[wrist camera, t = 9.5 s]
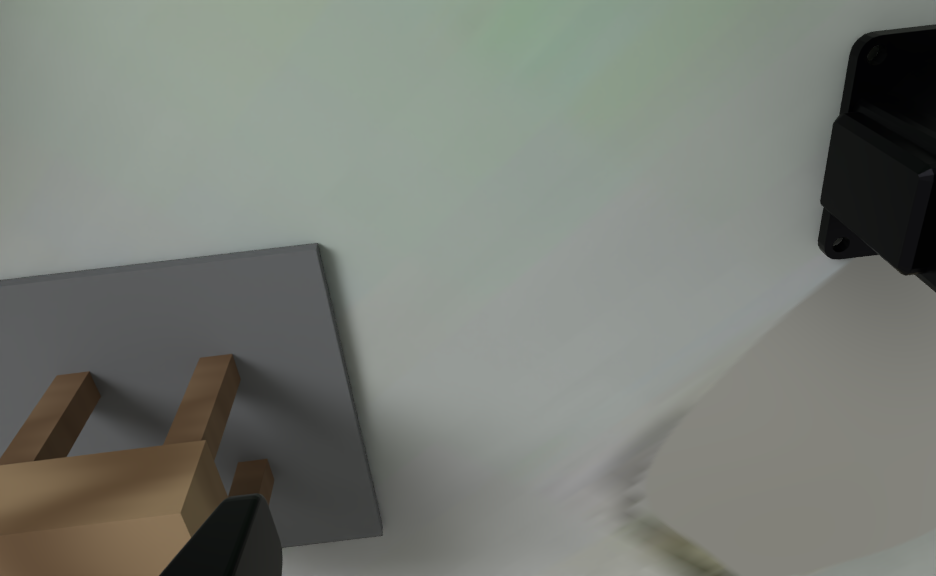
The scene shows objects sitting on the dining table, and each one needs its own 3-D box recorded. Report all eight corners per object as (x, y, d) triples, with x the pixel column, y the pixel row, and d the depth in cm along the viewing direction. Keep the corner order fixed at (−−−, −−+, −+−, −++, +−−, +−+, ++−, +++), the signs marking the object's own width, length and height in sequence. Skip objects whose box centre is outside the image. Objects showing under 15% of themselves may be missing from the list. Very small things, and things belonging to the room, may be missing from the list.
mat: (317, 242, 21) (316, 249, 21) (382, 527, 27) (382, 535, 27) (-99, 291, 21) (-107, 299, 21) (62, 565, 27) (57, 574, 27)
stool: (239, 344, 22) (180, 513, 16) (285, 485, 25) (248, 667, 20) (43, 369, 22) (-84, 545, 16) (112, 506, 25) (26, 695, 20)
